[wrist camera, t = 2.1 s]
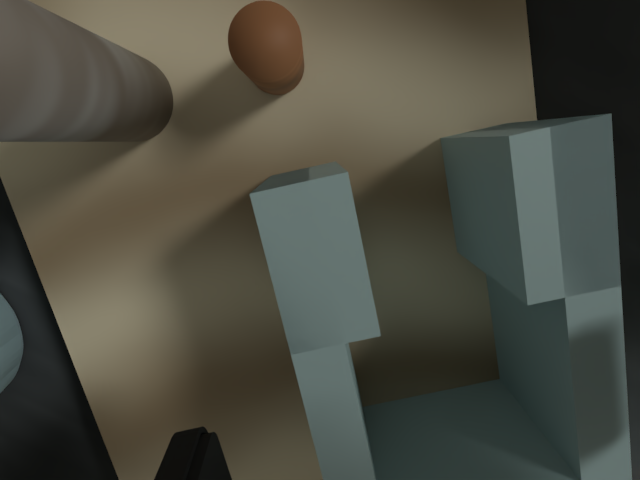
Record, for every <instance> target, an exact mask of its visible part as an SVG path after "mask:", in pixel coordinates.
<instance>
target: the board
mask: <svg viewBox="0 0 640 480" xmlns="http://www.w3.org/2000/svg"><path fill="white" fill-rule="evenodd" d="M536 120H537V114H536V104H535V93H534V83H533V72H532V62H531V51H530V41H529V30H528V20H527V10H526V0H0V177H1V180H2V182H3V185H4V188H5V190H6V193H7V195H8V198H9V200H10V203H11V205H12V208H13V211H14V213H15V216H16V218H17V221H18V223H19V226H20V228H21V231H22V234H23V236H24V239H25V241H26V244H27V246H28V249H29V251H30V254H31V257H32V259H33V262H34V264H35V267H36V269H37V272H38V274H39V277H40V279H41V282H42V285H43V287H44V290H45V292H46V295H47V297H48V300H49V302H50V305H51V308H52V310H53V313H54V315H55V318H56V320H57V323H58V325H59V328H60V331H61V333H62V336H63V338H64V341H65V343H66V346H67V348H68V351H69V354H70V356H71V359H72V361H73V364H74V366H75V369H76V371H77V374H78V377H79V379H80V382H81V384H82V387H83V389H84V392H85V394H86V397H87V400H88V402H89V405H90V407H91V410H92V412H93V415H94V417H95V420H96V422H97V425H98V428H99V430H100V433H101V435H102V438H103V440H104V443H105V445H106V448H107V451H108V453H109V456H110V458H111V461H112V463H113V466H114V468H115V471H116V474H117V476H118V479H119V480H154V478H155V476H156V474H157V471H158V469H159V466H160V464H161V462H162V459H163V457H164V455H165V452H166V450H167V447H168V445H169V443H170V440H171V438H172V436H173V434H174V433H176V432H180V431H184V430H189V429H193V428H198V427H202V426H203V427H205V428H206V429H207V431H208V433H211V432H215V433H216V434H217V436H218V439H219V442H220V445H221V448H222V451H223V454H224V457H225V460H226V463H227V466H228V469H229V472H230V475H231V478H232V480H323V477H322V473H321V470H320V466H319V462H318V458H317V454H316V450H315V446H314V442H313V439H312V435H311V431H310V427H309V423H308V419H307V415H306V411H305V408H304V404H303V400H302V396H301V392H300V388H299V384H298V380H297V377H296V373H295V369H294V365H293V361H292V357H291V353H290V349H289V346H288V342H287V338H286V334H285V330H284V326H283V322H282V318H281V315H280V311H279V307H278V303H277V299H276V295H275V291H274V287H273V284H272V280H271V276H270V272H269V268H268V264H267V260H266V256H265V253H264V249H263V245H262V241H261V237H260V233H259V229H258V225H257V222H256V218H255V214H254V210H253V206H252V202H251V198H250V193H251V192H252V191H253V190H254V189H256V188H257V187H258V186H259V185H260V184H262V183H263V182H264V181H265V180H266V179H268V178H269V177H270V176H272V175H277V174H281V173H286V172H290V171H295V170H299V169H304V168H308V167H313V166H317V165H322V164H326V163H331V162H335V161H336V162H337V163H338V164H339V165H340V166H342V167H343V168H344V169H345V170H346V171H347V172H348V175H349V180H350V185H351V190H352V195H353V199H354V204H355V209H356V214H357V219H358V224H359V229H360V234H361V239H362V244H363V249H364V254H365V259H366V264H367V269H368V274H369V279H370V284H371V289H372V294H373V299H374V304H375V309H376V314H377V319H378V324H379V329H380V334H381V336H379V337H374V338H370V339H365V340H360V341H355V342H350V343H349V347H350V352H351V356H352V361H353V365H354V370H355V374H356V379H357V383H358V388H359V392H360V397H361V401H362V406H363V407H365V406H369V405H374V404H379V403H384V402H389V401H394V400H399V399H404V398H409V397H414V396H419V395H423V394H428V393H433V392H438V391H443V390H448V389H453V388H458V387H463V386H468V385H472V384H477V383H482V382H487V381H492V380H497V379H500V377H499V369H498V362H497V354H496V347H495V339H494V332H493V324H492V317H491V309H490V302H489V294H488V287H487V279H486V273H484V272H483V271H482V270H480V269H479V268H478V267H477V266H475V265H474V264H473V263H471V262H470V261H469V260H467V259H466V258H465V257H463V256H462V255H461V254H459V253H458V252H457V247H456V240H455V233H454V227H453V220H452V213H451V207H450V200H449V193H448V186H447V180H446V173H445V166H444V159H443V153H442V146H441V139H440V138H443V137H447V136H452V135H456V134H461V133H465V132H470V131H474V130H479V129H483V128H488V127H492V126H497V125H501V124H505V123H515V122H525V121H536Z"/></svg>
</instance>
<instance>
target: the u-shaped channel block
mask: <svg viewBox="0 0 640 480" xmlns="http://www.w3.org/2000/svg"><path fill="white" fill-rule="evenodd" d="M440 139H441V146H442V153H443V159H444V166H445V173H446V180H447V186H448V193H449V200H450V207H451V213H452V220H453V227H454V233H455V240H456V247H457V252H458V253H459V254H461V255H462V256H463V257H465V258H466V259H467V260H469V261H470V262H471V263H473V264H474V265H475V266H477V267H478V268H479V269H480V270H482V271H483V272H484V273H486V279H487V287H488V294H489V302H490V309H491V317H492V324H493V332H494V339H495V347H496V354H497V362H498V369H499V377H500V379H497V380H492V381H487V382H482V383H477V384H472V385H468V386H463V387H458V388H453V389H448V390H443V391H438V392H433V393H428V394H423V395H419V396H414V397H409V398H404V399H399V400H394V401H389V402H384V403H379V404H374V405H369V406H365V407H363V406H362V401H361V397H360V392H359V388H358V383H357V379H356V374H355V370H354V365H353V361H352V356H351V352H350V347H349V343H350V342H355V341H360V340H365V339H370V338H374V337H379V336H381V334H380V329H379V324H378V319H377V314H376V309H375V304H374V299H373V294H372V289H371V284H370V279H369V274H368V269H367V264H366V259H365V254H364V249H363V244H362V239H361V234H360V229H359V224H358V219H357V214H356V209H355V204H354V199H353V195H352V190H351V185H350V180H349V175H348V172H347V171H346V170H345V169H344V168H343V167H342V166H340V165H339V164H338V163H337V162H336V161H335V162H331V163H326V164H322V165H317V166H313V167H308V168H304V169H299V170H295V171H290V172H286V173H281V174H277V175H272V176H270V177H269V178H268V179H266V180H265V181H264V182H263V183H262V184H260V185H259V186H258V187H257V188H256V189H254V190H253V191H252V192H251V193H250V198H251V202H252V206H253V210H254V214H255V218H256V222H257V225H258V229H259V233H260V237H261V241H262V245H263V249H264V253H265V256H266V260H267V264H268V268H269V272H270V276H271V280H272V284H273V287H274V291H275V295H276V299H277V303H278V307H279V311H280V315H281V318H282V322H283V326H284V330H285V334H286V338H287V342H288V346H289V349H290V353H291V357H292V361H293V365H294V369H295V373H296V377H297V380H298V384H299V388H300V392H301V396H302V400H303V404H304V408H305V411H306V415H307V419H308V423H309V427H310V431H311V435H312V439H313V442H314V446H315V450H316V454H317V458H318V462H319V466H320V470H321V473H322V477H323V480H632V470H631V452H630V435H629V417H628V399H627V381H626V363H625V345H624V328H623V310H622V292H621V274H620V256H619V239H618V221H617V203H616V185H615V167H614V150H613V132H612V114H611V113H610V114H600V115H589V116H578V117H568V118H557V119H546V120H536V121H525V122H515V123H505V124H501V125H497V126H492V127H488V128H483V129H479V130H474V131H470V132H465V133H461V134H456V135H452V136H447V137H443V138H440Z"/></svg>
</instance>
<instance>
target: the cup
mask: <svg viewBox="0 0 640 480" xmlns="http://www.w3.org/2000/svg"><path fill="white" fill-rule="evenodd" d="M23 347H24V345H23V337H22V332H21V328H20V324H19V321H18V319H17V317H16V314H15V313H14V311H13V309H12V308H11V306H10V305H9V303H8V302H7V301H6V300H5V298H4V297H3V296H2V295H1V293H0V393H1V392H2V391H3V390H4V389H5V388H6V387H7V385H8V384H9V383H10V382H11V381H12V380H13V379H14V377H15V375H16V374H17V371H18V369H19V366H20V363H21V359H22V355H23Z"/></svg>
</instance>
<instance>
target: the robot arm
mask: <svg viewBox="0 0 640 480" xmlns="http://www.w3.org/2000/svg"><path fill="white" fill-rule="evenodd" d="M154 480H232V478H231V475H230V472H229V469H228V466H227V463H226V460H225V457H224V454H223V451H222V448H221V445H220V442H219V439H218V436H217V434H216V433H215V432H211V433H208V431H207V429H206V428H205V427H203V426H202V427H198V428H193V429H189V430H184V431H180V432H176V433H174V434H173V436H172V438H171V440H170V443H169V445H168V447H167V450H166V452H165V455H164V457H163V459H162V462H161V464H160V466H159V469H158V471H157V474H156V476H155V478H154Z"/></svg>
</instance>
